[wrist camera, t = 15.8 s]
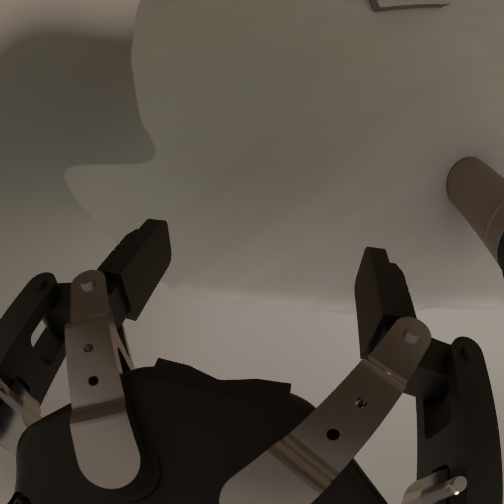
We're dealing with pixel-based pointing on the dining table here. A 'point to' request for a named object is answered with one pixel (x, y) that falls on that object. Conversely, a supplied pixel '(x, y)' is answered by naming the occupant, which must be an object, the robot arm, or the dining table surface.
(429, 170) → the dining table surface
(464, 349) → the robot arm
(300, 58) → the dining table surface
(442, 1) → the charcoal block
